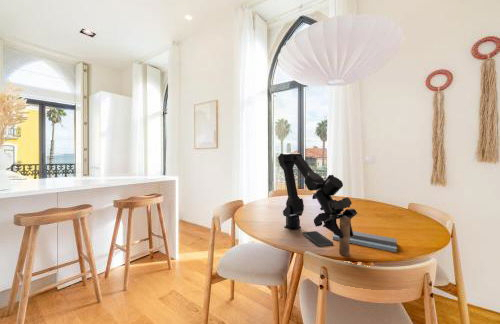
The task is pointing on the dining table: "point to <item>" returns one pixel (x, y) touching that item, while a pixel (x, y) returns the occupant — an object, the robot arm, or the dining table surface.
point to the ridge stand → (372, 241)
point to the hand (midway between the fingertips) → (347, 236)
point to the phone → (317, 238)
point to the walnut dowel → (344, 242)
